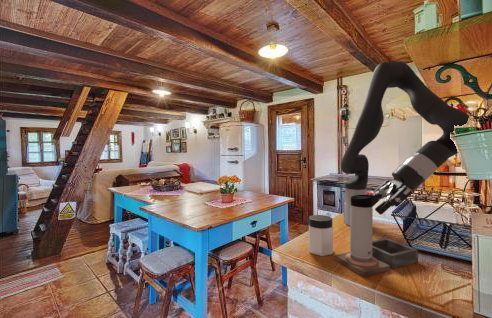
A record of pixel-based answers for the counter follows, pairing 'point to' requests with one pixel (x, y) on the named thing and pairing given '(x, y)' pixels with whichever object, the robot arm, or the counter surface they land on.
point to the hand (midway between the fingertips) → (372, 208)
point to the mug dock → (381, 258)
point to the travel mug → (361, 227)
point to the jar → (320, 235)
